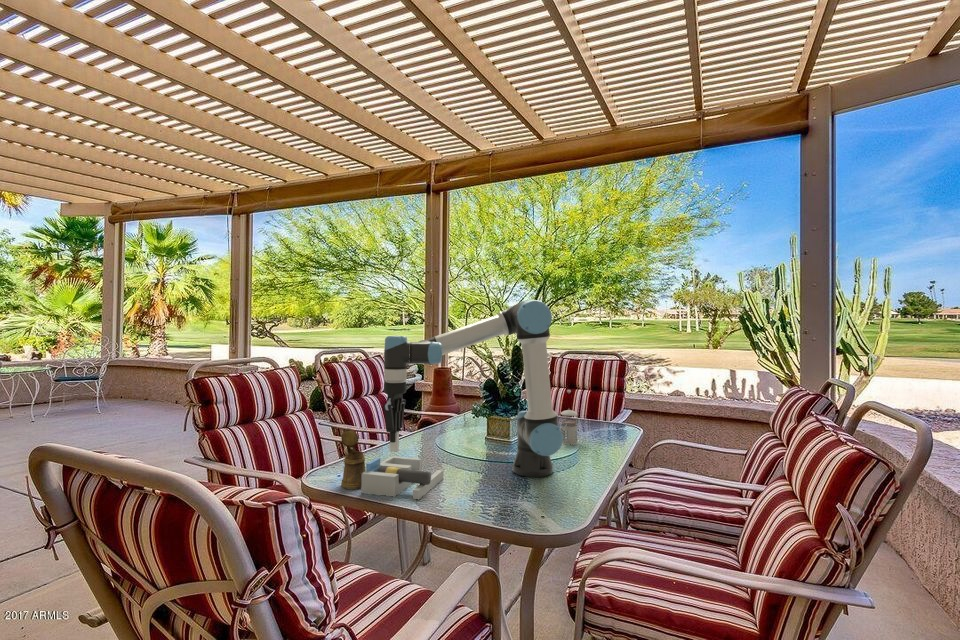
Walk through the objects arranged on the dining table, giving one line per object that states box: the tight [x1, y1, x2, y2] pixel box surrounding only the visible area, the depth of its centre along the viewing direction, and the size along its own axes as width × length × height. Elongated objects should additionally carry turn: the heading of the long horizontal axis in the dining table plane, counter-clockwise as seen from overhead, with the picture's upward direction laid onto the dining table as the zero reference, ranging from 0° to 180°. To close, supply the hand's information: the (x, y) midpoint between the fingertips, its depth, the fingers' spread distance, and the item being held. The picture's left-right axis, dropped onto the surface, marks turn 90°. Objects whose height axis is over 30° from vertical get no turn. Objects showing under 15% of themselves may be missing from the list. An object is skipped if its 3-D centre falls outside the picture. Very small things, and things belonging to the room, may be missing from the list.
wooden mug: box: [340, 428, 366, 490], centre depth 167 cm, size 9×14×18 cm, turn 30°
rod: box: [377, 466, 432, 485], centre depth 159 cm, size 18×4×4 cm, turn 74°
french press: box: [560, 389, 580, 446], centre depth 227 cm, size 10×12×25 cm
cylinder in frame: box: [360, 455, 444, 501], centre depth 164 cm, size 20×22×9 cm
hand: (394, 451), depth 160 cm, fingers closed
